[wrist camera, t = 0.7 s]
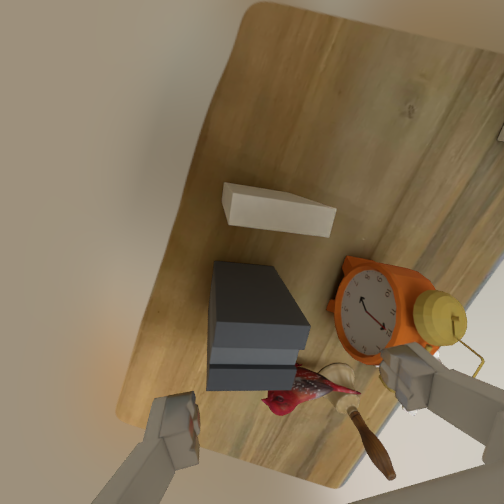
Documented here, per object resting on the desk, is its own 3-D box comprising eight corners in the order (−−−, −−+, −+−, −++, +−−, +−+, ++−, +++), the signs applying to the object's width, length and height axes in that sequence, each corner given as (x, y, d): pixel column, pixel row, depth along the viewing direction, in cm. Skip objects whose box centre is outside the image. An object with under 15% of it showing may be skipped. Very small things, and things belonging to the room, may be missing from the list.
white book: (224, 182, 32) (232, 192, 19) (288, 192, 34) (337, 208, 21) (221, 201, 33) (228, 225, 20) (284, 211, 35) (329, 237, 22)
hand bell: (346, 355, 46) (412, 447, 31) (358, 383, 49) (424, 479, 34) (307, 375, 46) (353, 476, 31) (321, 402, 49) (370, 506, 34)
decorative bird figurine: (254, 353, 42) (266, 406, 33) (345, 359, 46) (379, 408, 37) (250, 366, 43) (261, 422, 34) (340, 371, 47) (372, 422, 37)
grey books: (214, 260, 35) (216, 321, 21) (273, 266, 37) (311, 326, 23) (208, 310, 38) (206, 394, 24) (263, 313, 40) (292, 393, 26)
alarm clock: (346, 245, 38) (476, 320, 19) (379, 252, 39) (531, 328, 21) (319, 317, 42) (407, 439, 23) (350, 321, 43) (457, 440, 24)
